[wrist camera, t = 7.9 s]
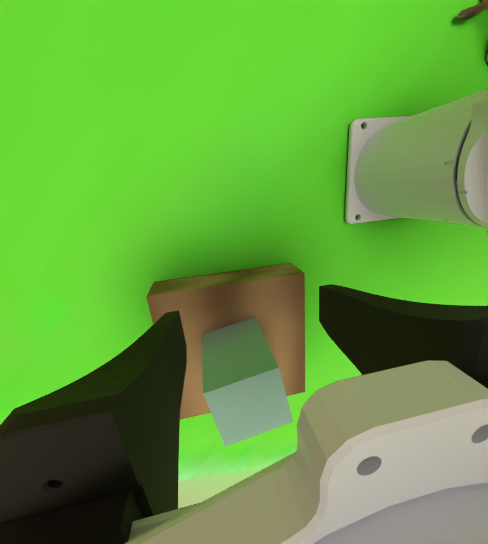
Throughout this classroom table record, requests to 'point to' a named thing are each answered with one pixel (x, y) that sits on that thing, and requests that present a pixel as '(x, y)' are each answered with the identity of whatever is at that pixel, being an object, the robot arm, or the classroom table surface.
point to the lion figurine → (474, 12)
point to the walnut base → (237, 319)
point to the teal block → (242, 382)
